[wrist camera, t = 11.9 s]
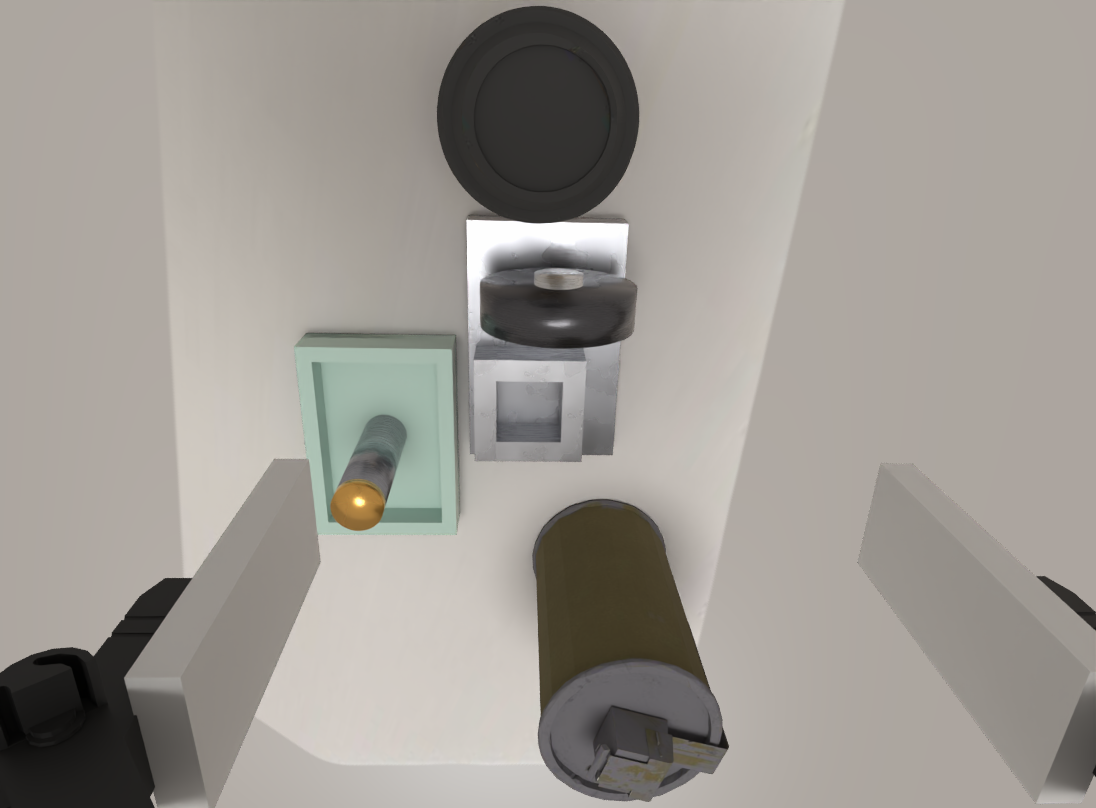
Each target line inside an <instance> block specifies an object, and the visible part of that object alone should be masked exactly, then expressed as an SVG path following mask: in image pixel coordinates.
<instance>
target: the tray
mask: <svg viewBox="0 0 1096 808" xmlns="http://www.w3.org/2000/svg"><path fill="white" fill-rule="evenodd" d="M294 352H295V361H296V370H297V378H298V387H299V396H300V405H301V413H302V422H303V431H304V440H305V448H306V457H307V459H309V463H310V472H311V481H312V490H313V499H314V508H315V517H316V525H317V534H318V535H457V528H458V521H459V514H460V504H459V460H458V416H457V371H456V335H398V334H334V333H306V334H305V336H304V337H303V338H302V339H301V340H300V341H299V342H298V343H297V344H296V345H295V346H294ZM378 415H390V416H393V417H395V418H397V419H398V420H400V421H401V422H402V424H403V425H404V427H405V429H406V432H407V439H406V442H405V445H404V449H403V452H402V455H401V458H400V461H399V464H398V468H397V471H396V474H395V477H394V480H393V484H392V487H391V490H390V493H389V496H388V500H387V503H386V506H385V509H384V512H383V515H382V518H381V520H380V521H379V523H378V524H377V525H375V526H374V527H372V528H370V529H368V530H363V531H354V530H350V529H347V528H345V527H343V526H341V525H340V524H339V523H338V522H337V521H336V520H335V519H334V518H333V516H332V513H331V509H330V504H331V500H332V498H333V496H334V493H335V491H336V489H337V487H338V485H339V482H340V480H341V478H342V476H343V474H344V471H345V469H346V467H347V465H348V463H349V460H350V458H351V456H352V454H353V452H354V449H355V447H356V445H357V443H358V441H359V438H360V436H361V434H362V432H363V430H364V427H365V425H366V423H367V422H368V421H369V420H370V419H371V418H373V417H375V416H378Z"/></svg>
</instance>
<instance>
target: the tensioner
mask: <svg viewBox="0 0 1096 808" xmlns="http://www.w3.org/2000/svg"><path fill="white" fill-rule="evenodd" d="M628 228H629V224H628V223H627V221H626V220H625V219H598V218H573V219H570V220H566V221H562V222H556V223H542V224H535V223H524V222H519V221H515V220H511V219H508V218H505V217H503V216H468V218H467V276H468V341H469V406H470V454H475V461H549V462H581V458H582V455H613V441H614V427H615V413H616V398H617V384H618V370H619V356H620V341H622V340H624V339H626V338H628V337H629V336H630V335H631V334H632V333H633V332H634V324H635V311H636V298H637V286H636V285H635V283H633V282H632V281H630V280H628V279H626V278H625V270H626V256H627V242H628Z"/></svg>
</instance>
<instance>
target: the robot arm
mask: <svg viewBox="0 0 1096 808" xmlns="http://www.w3.org/2000/svg"><path fill="white" fill-rule="evenodd" d="M320 562H321V561H320V552H319V543H318V534H317V525H316V517H315V508H314V499H313V490H312V481H311V472H310V463H309V459H274V460H273V462H272V463H271V464H270V466H269V467H268V469H267V470H266V472H265V473H264V475H263V476H262V478H261V479H260V481H259V482H258V483H257V485H256V486H255V488H254V489H253V491H252V492H251V494H250V495H249V497H248V498H247V499H246V501H245V502H244V504H243V505H242V507H241V508H240V510H239V511H238V513H237V514H236V515H235V517H234V518H233V520H232V521H231V523H230V524H229V526H228V527H227V529H226V530H225V532H224V533H223V534H222V536H221V537H220V539H219V540H218V542H217V543H216V545H215V546H214V548H213V549H212V550H211V552H210V553H209V555H208V556H207V558H206V559H205V561H204V562H203V564H202V565H201V566H200V568H199V569H198V571H197V572H196V574H195V575H194V577H193V578H165V579H163V580H162V581H161V582H159V583H158V584H156V585H155V586H153V587H152V588H151V589H149V590H148V591H146V592H145V593H144V594H142V595H141V596H140V597H139V598H138V599H137V601H136V602H135V603H134V605H133V606H132V607H131V609H130V610H129V611H128V612H127V614H126V615H125V619H124V620H121V622H120V623H119V624H118V626H117V627H116V628H115V629H114V631H113V632H112V636H111V637H109V638H107V640H106V641H105V642H104V644H103V645H102V646H101V648H100V649H99V650H98V652H97V653H96V654H95V655H94V657H93V656H92V655H91V654H90V653H89V652H88V651H86V650H81V649H77V648H73V647H71V648H60V649H59V648H58V649H51V650H47V651H44V652H40V653H37V654H33V655H30V656H29V657H26V658H25V659H22V660H20V661H18V662H16V663H14V664H12V665H10V666H9V667H8V668H6V669H5V670H4V671H2V672H1V673H0V808H154V805H153V803H152V801H151V799H150V796H151V794H152V792H154V796H155V800H156V804H157V807H158V808H215V806H216V803H217V801H218V799H219V796H220V794H221V792H222V790H223V787H224V785H225V783H226V780H227V778H228V775H229V773H230V771H231V769H232V766H233V764H234V762H235V759H236V757H237V755H238V752H239V750H240V748H241V745H242V743H243V741H244V739H245V736H246V734H247V731H248V729H249V727H250V725H251V722H252V720H253V718H254V715H255V713H256V711H257V708H258V706H259V704H260V701H261V699H262V697H263V694H264V692H265V690H266V687H267V685H268V683H269V681H270V678H271V676H272V674H273V671H274V669H275V667H276V664H277V662H278V660H279V657H280V655H281V653H282V650H283V648H284V646H285V643H286V641H287V639H288V636H289V634H290V632H291V629H292V627H293V625H294V623H295V620H296V618H297V616H298V613H299V611H300V609H301V606H302V604H303V602H304V599H305V597H306V595H307V592H308V590H309V588H310V585H311V583H312V581H313V578H314V576H315V574H316V571H317V569H318V567H319V565H320ZM858 564H859V565H860V566H861V568H862V569H863V571H864V572H865V573H866V575H867V576H868V577H869V578H870V580H871V581H872V583H873V584H874V585H875V587H876V588H877V590H878V591H879V592H880V594H881V595H882V596H883V598H884V599H885V600H886V602H887V603H888V604H889V606H890V607H891V609H892V610H893V611H894V612H895V614H896V615H897V617H898V618H899V619H900V621H901V622H902V623H903V625H904V626H905V627H906V629H907V630H908V632H909V633H910V634H911V636H912V637H913V638H914V640H915V641H916V642H917V644H918V645H919V646H920V648H921V649H922V650H923V652H924V653H925V654H926V656H927V657H928V659H929V660H930V661H931V662H932V664H933V665H934V667H935V668H936V669H937V671H938V672H939V673H940V675H941V676H942V678H943V679H944V680H945V681H946V683H947V684H948V686H949V687H950V688H951V690H952V691H953V692H954V694H955V695H956V696H957V698H958V699H959V701H960V702H961V703H962V704H963V706H964V707H965V709H966V710H967V711H968V713H969V714H970V715H971V717H972V718H973V720H974V721H975V722H976V724H977V725H978V726H979V728H980V729H981V730H982V732H983V733H984V734H985V736H986V737H987V738H988V740H989V741H990V742H991V744H992V745H993V747H994V748H995V749H996V751H997V752H998V753H999V754H1000V756H1001V757H1002V759H1003V760H1004V761H1005V763H1006V764H1007V766H1008V767H1009V768H1010V769H1011V771H1012V772H1013V774H1014V775H1015V776H1016V778H1017V779H1018V780H1019V782H1020V783H1021V784H1022V786H1023V787H1024V789H1025V790H1026V791H1027V793H1028V794H1029V795H1030V797H1031V798H1032V799H1033V801H1034V802H1035V803H1036V804H1059V803H1060V804H1062V803H1082V801H1083V798H1084V796H1085V794H1086V792H1087V789H1088V787H1089V785H1090V782H1091V781H1092V778H1093V776H1094V775H1095V777H1096V612H1095V611H1094V610H1092V608H1091V607H1089V606H1088V605H1087V604H1086V603H1085V602H1084V601H1083V600H1081V599H1080V598H1079V597H1078V596H1077V595H1076V594H1075V593H1073V592H1071V591H1070V590H1068V589H1066V588H1064V587H1063V586H1061V585H1059V584H1057V583H1056V582H1054V581H1052V580H1050V579H1048V578H1047V577H1045V576H1035V575H1034V574H1033V573H1032V572H1030V570H1028V569H1027V568H1026V567H1025V566H1024V565H1023V564H1022V563H1021V562H1020V561H1019V560H1017V559H1016V558H1015V557H1014V556H1013V555H1012V554H1011V553H1010V552H1009V551H1007V549H1005V548H1004V547H1003V546H1002V545H1001V544H1000V543H999V542H998V541H997V540H996V539H995V538H993V537H992V536H991V535H990V534H989V533H988V532H987V531H986V530H985V529H984V528H982V527H981V526H980V525H979V524H978V523H977V522H976V521H975V520H974V519H973V518H972V517H970V516H969V515H968V514H967V513H966V512H965V511H964V510H963V509H961V507H959V506H958V505H957V504H956V503H955V502H954V501H953V500H952V499H951V498H950V497H949V496H947V495H946V494H945V493H944V492H943V491H942V490H941V489H940V488H939V487H937V486H936V485H935V484H934V483H933V482H932V481H931V480H930V479H929V478H928V477H927V476H925V475H924V474H923V473H922V472H921V471H920V470H919V469H918V468H917V467H916V466H915V465H913V464H888V463H886V464H883V463H881V464H880V468H879V473H878V477H877V481H876V485H875V490H874V494H873V499H872V503H871V507H870V511H869V515H868V520H867V524H866V528H865V532H864V537H863V541H862V546H861V550H860V554H859V558H858Z"/></svg>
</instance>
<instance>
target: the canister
mask: <svg viewBox="0 0 1096 808" xmlns="http://www.w3.org/2000/svg"><path fill="white" fill-rule="evenodd" d="M665 553H666V548H665V544H664V540H663V537H662V535H661V533H660V531H659V529H658V527H657V526H656V524H655V523H654V522H653V521H652V520H651V519H650V518H649V517H648V516H647V515H645V514H644V513H643V512H642V511H640V510H638V509H637V508H635V507H634V506H630V505H627V504H623V503H620V502H616V501H610V500H592V501H588V502H584V503H581V504H577V505H573V506H570V507H569V508H567V509H565V510H564V511H562V512H561V513H559V514H557V515H556V516H555V517H554V518H553V519H552V520H550V521H549V522H548V523H547V524H546V525H545V526H544V528H543V529H542V531H541V533H540V535H539V537H538V539H537V541H536V543H535V547H534V551H533V570H534V573H535V576H536V579H537V609H538V642H539V674H540V707H541V717H540V722H539V729H538V744H539V749H540V752H541V756H542V758H543V760H544V762H545V764H546V766H547V767H548V768H549V769H550V771H551V772H552V773H553V774H554V775H555V777H556V778H558V779H559V780H560V781H562V782H563V783H565V784H566V785H568V786H569V787H571V788H572V789H574V790H576V791H578V792H581V793H583V794H585V795H588V796H591V797H595V798H599V799H603V800H614V801H631V800H642V801H646V802H649V801H651V799H652V798H653V797H655V796H660V795H663V794H665V793H667V792H669V791H671V790H673V789H675V788H677V787H679V786H681V785H683V784H685V783H686V782H688V781H689V780H691V779H692V778H694V777H695V776H696V775H697V774H698V773H699V772H704V773H708V774H713V773H714V771H715V770H716V768H717V766H718V765H719V763H720V762H721V760H722V758H723V756H724V755H725V753H726V751H727V750H728V748H729V745H728V742H727V739H726V736H725V733H724V730H723V727H722V716H721V712H720V708H719V705H718V703H717V701H716V699H715V696H714V695H713V694H712V692H711V690H710V687H709V684H708V681H707V678H706V675H705V672H704V669H703V666H702V663H701V660H700V657H699V654H698V650H697V647H696V644H695V641H694V638H693V635H692V632H691V629H690V626H689V623H688V621H687V618H686V615H685V612H684V609H683V606H682V603H681V600H680V597H679V594H678V591H677V588H676V584H675V581H674V578H673V575H672V572H671V569H670V566H669V563H668V560H667V557H666V554H665Z"/></svg>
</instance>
